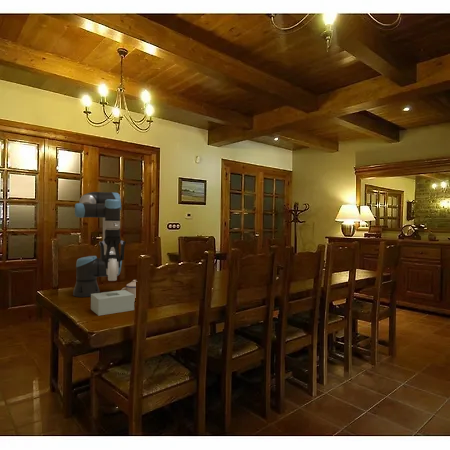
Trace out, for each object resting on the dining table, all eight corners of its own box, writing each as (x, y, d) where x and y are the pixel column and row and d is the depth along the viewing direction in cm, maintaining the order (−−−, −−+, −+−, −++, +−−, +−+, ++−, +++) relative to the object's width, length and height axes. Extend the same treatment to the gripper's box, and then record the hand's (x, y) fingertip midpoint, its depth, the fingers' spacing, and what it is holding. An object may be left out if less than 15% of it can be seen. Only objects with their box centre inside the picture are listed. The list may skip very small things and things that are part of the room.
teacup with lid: (143, 298, 202) (143, 278, 202) (140, 302, 193) (140, 281, 193) (122, 298, 201) (123, 278, 201) (119, 302, 192) (119, 281, 192)
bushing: (106, 279, 177) (106, 258, 176) (115, 279, 179) (115, 258, 179) (109, 281, 173) (109, 259, 173) (118, 280, 176) (118, 259, 176)
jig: (90, 309, 177) (90, 293, 177) (124, 304, 187) (124, 289, 187) (98, 315, 166) (98, 299, 165) (134, 310, 176) (134, 294, 176)
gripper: (97, 229, 168) (97, 276, 168) (131, 229, 177) (130, 273, 178) (93, 229, 174) (93, 274, 174) (126, 228, 184) (126, 271, 184)
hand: (112, 274), depth 176 cm, fingers closed on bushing, 4 cm apart
